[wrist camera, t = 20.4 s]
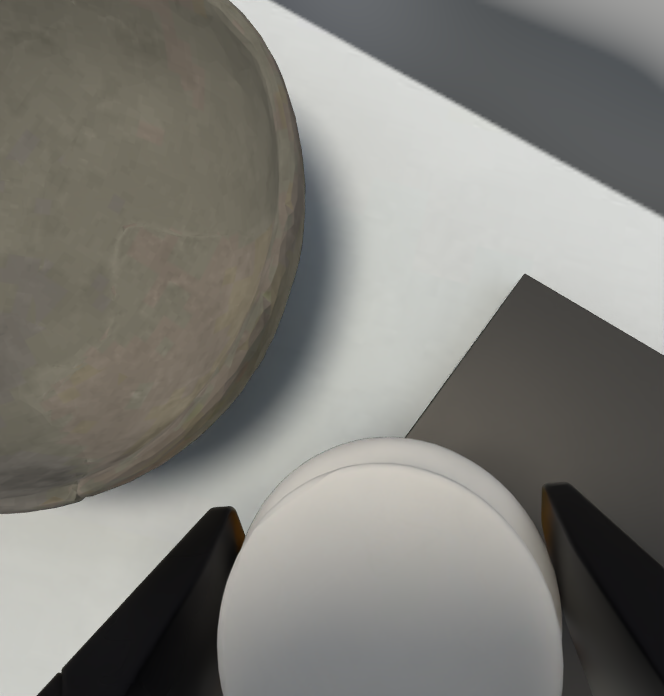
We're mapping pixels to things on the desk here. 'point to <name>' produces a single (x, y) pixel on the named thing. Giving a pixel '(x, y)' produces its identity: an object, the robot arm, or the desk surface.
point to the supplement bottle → (391, 583)
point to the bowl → (134, 233)
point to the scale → (560, 418)
